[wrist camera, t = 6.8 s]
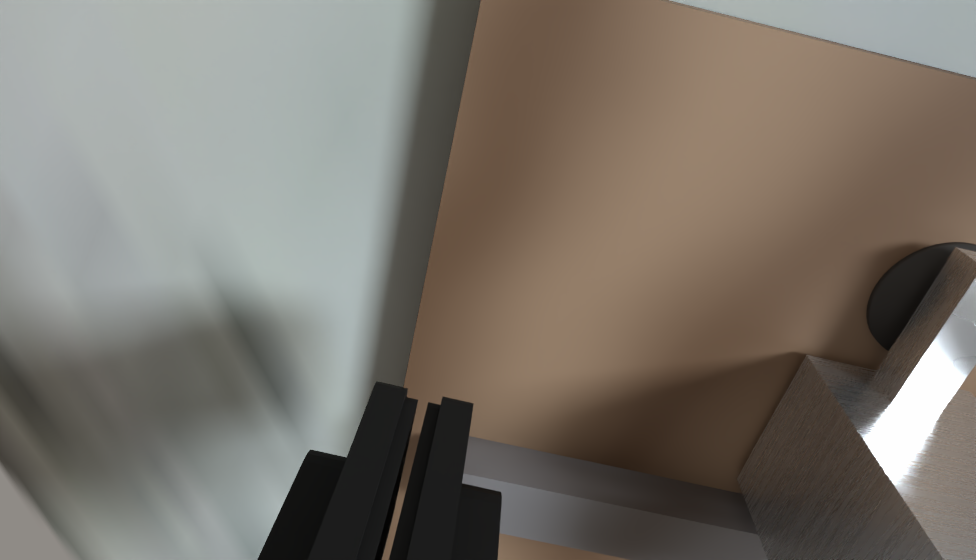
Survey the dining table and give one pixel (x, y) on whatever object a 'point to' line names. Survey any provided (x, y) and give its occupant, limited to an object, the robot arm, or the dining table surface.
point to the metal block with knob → (877, 444)
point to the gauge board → (669, 258)
